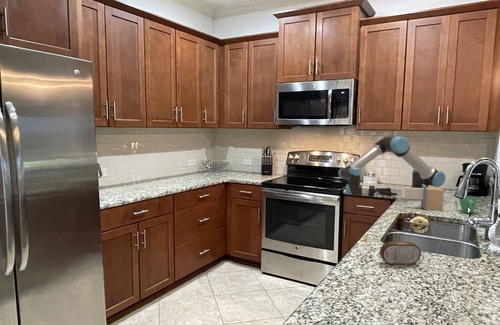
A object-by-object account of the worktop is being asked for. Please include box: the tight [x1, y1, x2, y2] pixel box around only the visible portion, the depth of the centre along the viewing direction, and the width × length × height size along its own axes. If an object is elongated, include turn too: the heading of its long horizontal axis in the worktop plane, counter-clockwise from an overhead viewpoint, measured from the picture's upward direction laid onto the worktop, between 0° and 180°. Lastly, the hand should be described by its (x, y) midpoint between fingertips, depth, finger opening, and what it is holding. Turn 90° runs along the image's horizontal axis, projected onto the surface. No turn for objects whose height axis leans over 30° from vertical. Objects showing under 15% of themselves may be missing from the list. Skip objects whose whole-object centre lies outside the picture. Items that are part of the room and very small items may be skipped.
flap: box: [404, 184, 426, 210], centre depth 224 cm, size 12×13×14 cm
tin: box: [379, 241, 422, 266], centre depth 126 cm, size 15×3×8 cm, turn 90°
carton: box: [424, 186, 445, 212], centre depth 221 cm, size 10×10×14 cm
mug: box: [459, 195, 478, 214], centre depth 209 cm, size 15×10×10 cm
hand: (401, 192), depth 225 cm, fingers open, 13 cm apart
